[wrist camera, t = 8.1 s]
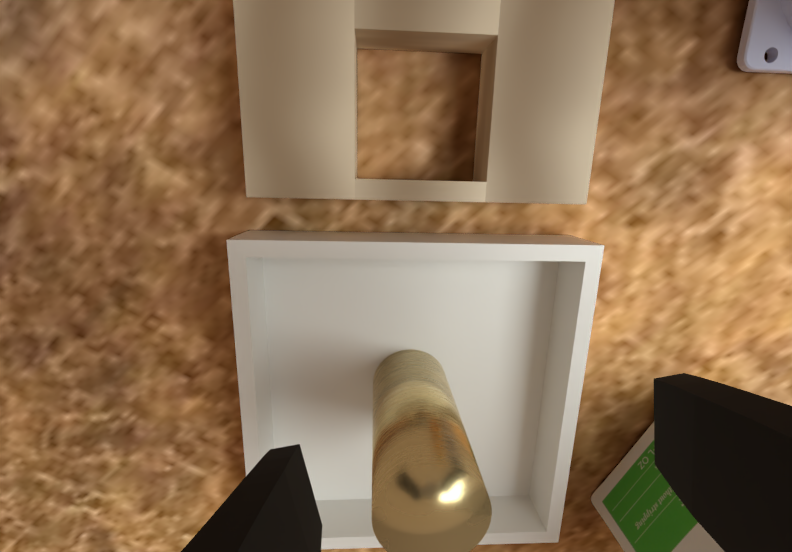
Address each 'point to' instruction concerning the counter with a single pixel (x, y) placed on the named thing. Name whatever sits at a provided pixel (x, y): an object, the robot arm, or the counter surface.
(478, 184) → the tensioner bracket
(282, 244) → the tray
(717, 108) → the counter surface
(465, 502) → the lock pin
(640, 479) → the skincare box
